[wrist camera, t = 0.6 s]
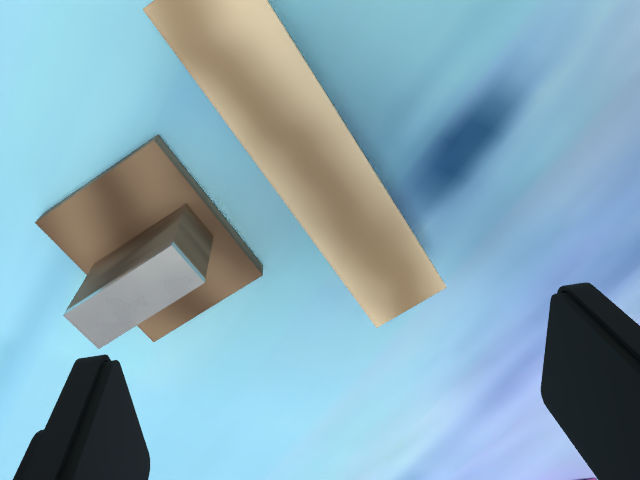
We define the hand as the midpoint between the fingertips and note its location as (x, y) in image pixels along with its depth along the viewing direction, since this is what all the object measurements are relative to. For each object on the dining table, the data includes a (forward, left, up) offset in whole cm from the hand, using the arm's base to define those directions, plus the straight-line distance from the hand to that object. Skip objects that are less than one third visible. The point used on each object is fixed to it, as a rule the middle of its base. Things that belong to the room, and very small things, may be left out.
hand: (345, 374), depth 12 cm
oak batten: (0, +3, -27) cm, 27 cm away
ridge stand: (+13, +3, -27) cm, 30 cm away
